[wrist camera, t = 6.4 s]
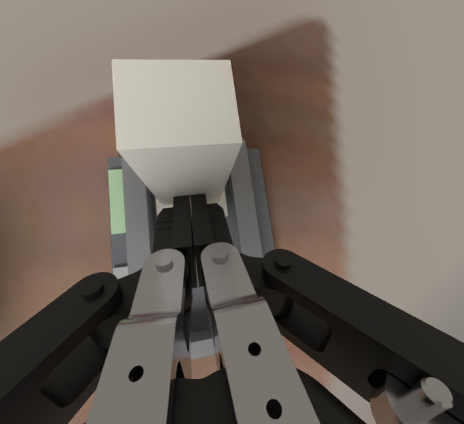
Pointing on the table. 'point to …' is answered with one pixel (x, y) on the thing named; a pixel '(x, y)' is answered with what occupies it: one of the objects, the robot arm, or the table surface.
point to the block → (177, 126)
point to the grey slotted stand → (145, 219)
